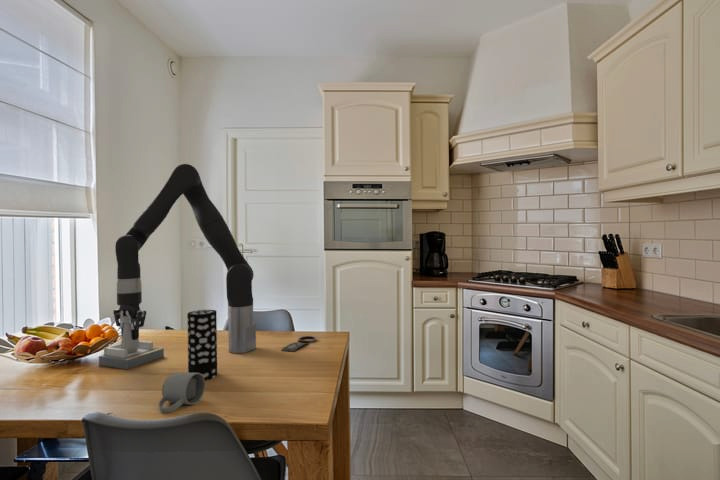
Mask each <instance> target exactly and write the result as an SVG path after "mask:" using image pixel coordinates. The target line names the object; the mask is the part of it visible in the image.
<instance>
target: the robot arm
mask: <svg viewBox="0 0 720 480" xmlns="http://www.w3.org/2000/svg"><path fill="white" fill-rule="evenodd" d="M200 176H201V175H200V173H199V172H198V169H197V168H196V167H194V166H193V165H191V164H189V163H182V164H179V165H177V166H176V167H175V168H174V170H173V171H172V173H171V174H170V176H169V178H168V179H167V181H166V183H165V184H164V185H163V187H162V188H161V190H160V191H159V193H158V194H157V195H156V196H155V198H154V199H153V200H152V201H151V202H150V203H149V205H148V206H147V207H145V209H144V210H143V211H142V213H141V214H140V215H139V216H138V217H137V219H136V220H135V221H134V222H133V226H132V227H130V229H129V230H128V231H127V233H126V234H124V235H121V236H120V237H118V238H117V240H116V241H115V257H116V258H115V259H116V264H117V268H116V269H117V272H116V273H117V274H116V275H117V276H116V277H117V281H116V304H117V306H119V308H118V309H113V311H112V312H113V317H114V321H115V326H116V327H119V328H120V329H121V330H120V333H121V334H120V335H121V337H122V334H123V327H124V323H122V317H123V316H127V317H128V318H129V323H130V324H131V328H132V330H131V336H132V340H136V339H139V338H140V337H139V336H140V329H141V328H143V327H144V325H145V321H146V316H147V310H141V307H140V304H142V303H143V300H142V298H143V297H142V295H143V292H142V291H143V290H142V287H143V286H142V279H141V278H142V277H141V264H140V263H139V251H140V250H141V249H142V247H143V246H144V245H145V243H147V241H148V240H149V237H151V236H152V234H154V232H155V231H156V230H157V229H158V227H160V225H161V224H162V223H163V222H164V220H165V219H166V217H167V216H168V214H169V213H170V211H171V209H172V208H173V206H174V205H175V203H176V202H177V201H178V199H179V198H180V197H181V196H182V195H183V196H184V198H185V199H186V200H187V202H188V203H189V205H190V207H191V209H192V213H193V215H194V218H195V220H196V223H197V225H198V227H199V229H200V231H201V233H202V234H203V236H204V239H206V241H207V242H208V244H209V245H210V246H211V247H212V249H214V251H215V252H216V253H217V255H219V257H220V258H221V259H222V261H223V263H224V266H225V268H226V270H227V272H226V277H225V278H226V279H225V282H226V283H225V284H226V300H227V305H228V306H227V307H228V308H227V310H228V313H227V316H228V320H227V323H228V326H227V327H228V352H229V353H233V354H241V353H243V354H247V353H249V352H251V351H253V350H255V349H257V332H256V331H257V328H256V326H257V325H256V323H254V297H253V286H252V285H253V284H252V283H253V279H254V270H253V268H252V266H250V264H249V263H248V261H247V260H246V258H245V257H244V255H243V254H242V253H241V251H240V249H239V248H238V245H237V243H236V240H235V239H234V236H233V234H232V232H231V230H230V228H229V226H228V225H227V222H226V221H225V219H224V217H223V215H222V214H221V213H220V211H219V209H218V208H217V207H216V205H215V204H214V203H213V202H212V200H211V199H210V198H209V195H208V193H207V191H206V190H205V187H204V185H203V183H202V182H203V181H202V179H201V177H200ZM132 319H136V320H132ZM134 324H135V325H134Z"/></svg>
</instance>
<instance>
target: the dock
mask: <svg viewBox="0 0 720 480" xmlns="http://www.w3.org/2000/svg"><path fill="white" fill-rule="evenodd" d="M139 343H140V345H139V348H138V350H137V351H136V352H134V353H128V354H127V350H125V349H121V342H120V343H117V344H114V345H110V346H106V347H103V351H104V352H103V354H102V355H99V356H98V365H99V366H104V367H110V368H117V369H123V370H129V369H134V368H135V367H138V366H141V365H145V364H147V363H151V362H152V361H156V360H158V359H162V358H164V357H165V352H164V350H165V349H164V347H154V341H147V340H139Z"/></svg>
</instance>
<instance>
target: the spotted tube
mask: <svg viewBox="0 0 720 480" xmlns="http://www.w3.org/2000/svg"><path fill="white" fill-rule="evenodd" d="M186 318H187V360H188V361H187V370H188V371H187V373H200V374H202V375H203V377H204V380H205V382H206V381H209V380H212V379H215V378H216V377H218V334H217V333H218V332H217V331H218V330H217V329H218V328H217V327H218V326H217V325H218V322H217V321H218V320H217V310H215V309H200V310H193V311H189V312H187V317H186Z"/></svg>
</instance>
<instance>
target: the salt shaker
mask: <svg viewBox="0 0 720 480" xmlns="http://www.w3.org/2000/svg"><path fill="white" fill-rule="evenodd" d="M132 320H136V319H132ZM122 323H124V327H123V334H122V336H121V342H120V343H121V349H125V350H127V354H128V353H134V352H136V351H137V350H138V348H139V345H140V343H139V341H140V339H139V338H138V339H136V340H132V336H131V330H132V328H131V324H130V323H129V318H128V317H127V316H123V317H122ZM135 324H136V323H134V325H135Z"/></svg>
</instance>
